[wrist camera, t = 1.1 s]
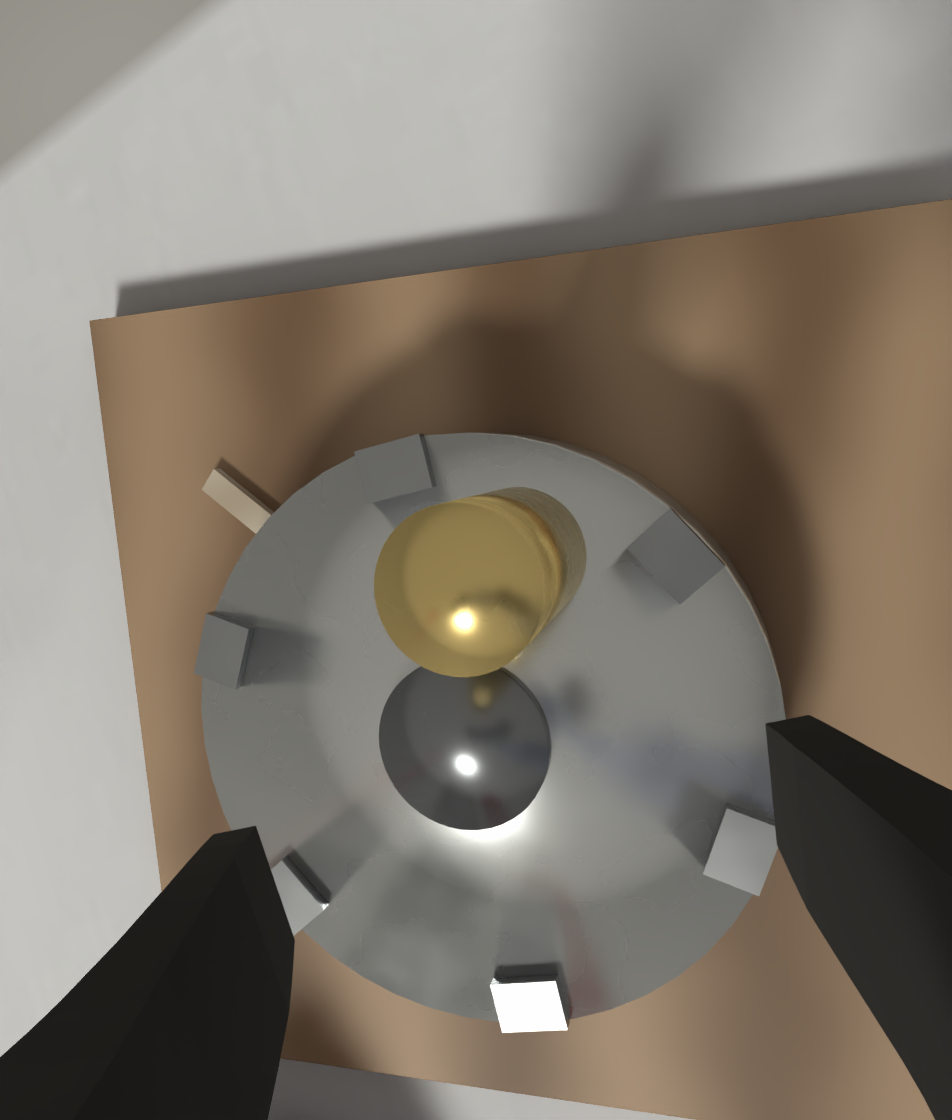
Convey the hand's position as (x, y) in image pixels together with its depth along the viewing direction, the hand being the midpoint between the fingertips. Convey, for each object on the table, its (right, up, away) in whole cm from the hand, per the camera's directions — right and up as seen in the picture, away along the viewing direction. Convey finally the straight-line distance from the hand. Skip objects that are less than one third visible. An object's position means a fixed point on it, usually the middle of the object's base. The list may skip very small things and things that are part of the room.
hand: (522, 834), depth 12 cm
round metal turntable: (0, 0, +10) cm, 10 cm away
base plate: (0, 0, +11) cm, 11 cm away
